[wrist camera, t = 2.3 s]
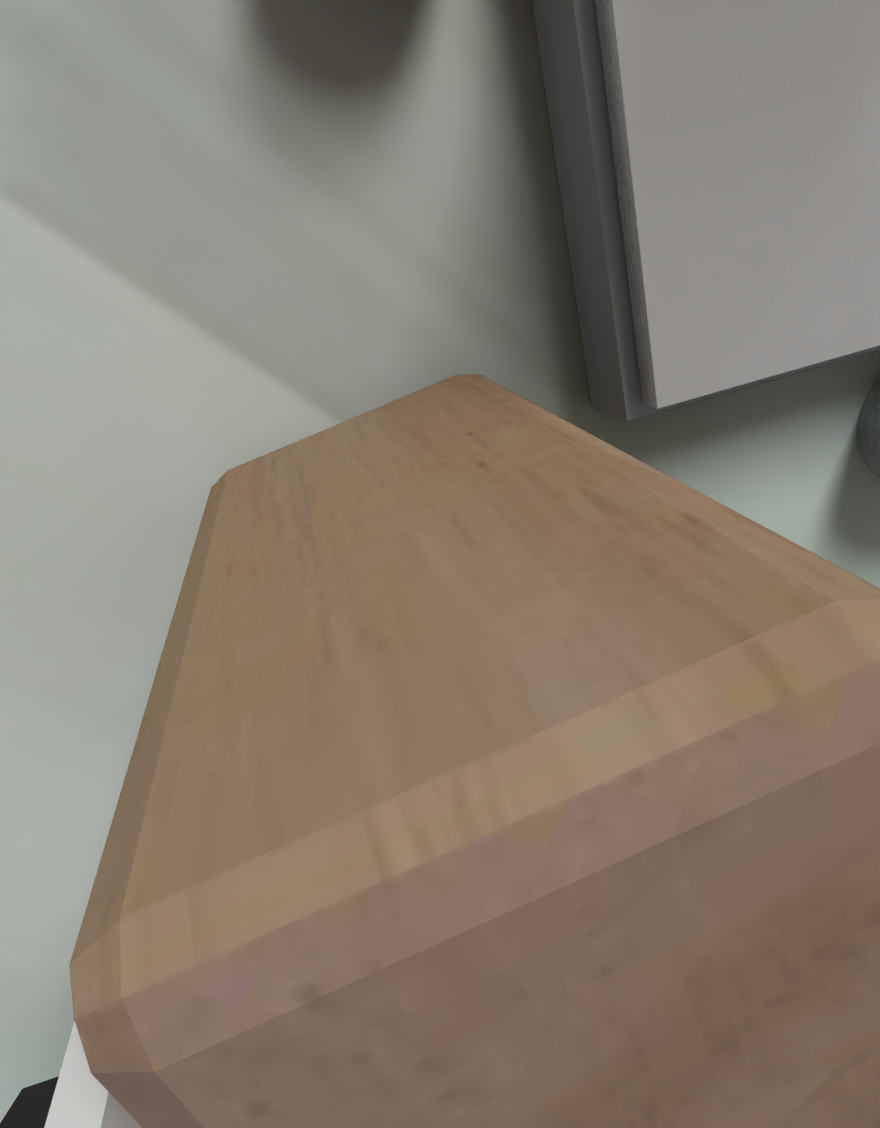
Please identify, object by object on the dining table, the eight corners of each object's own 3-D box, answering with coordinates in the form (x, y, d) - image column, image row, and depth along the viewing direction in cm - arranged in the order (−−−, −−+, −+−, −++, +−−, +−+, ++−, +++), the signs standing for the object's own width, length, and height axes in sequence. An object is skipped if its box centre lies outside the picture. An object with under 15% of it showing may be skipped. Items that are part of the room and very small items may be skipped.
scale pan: (606, 389, 26) (657, 408, 23) (531, -161, 20) (584, -251, 17) (988, 282, 27) (1090, 284, 24) (1025, -262, 21) (1169, -365, 18)
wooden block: (560, 603, 29) (1025, 1157, 11) (324, 706, 29) (405, 1458, 11) (477, 359, 25) (1004, 602, 7) (201, 474, 25) (-9, 1054, 7)
